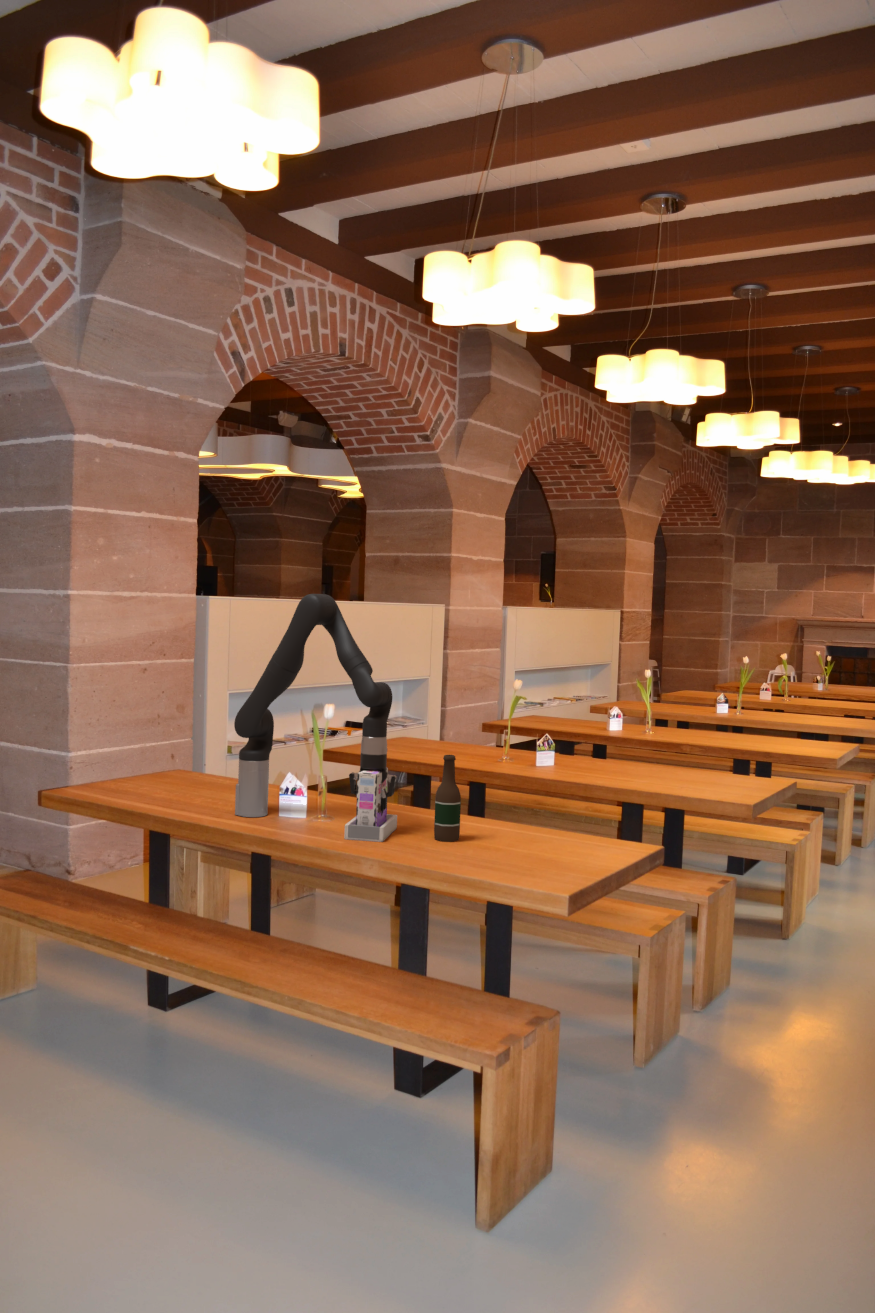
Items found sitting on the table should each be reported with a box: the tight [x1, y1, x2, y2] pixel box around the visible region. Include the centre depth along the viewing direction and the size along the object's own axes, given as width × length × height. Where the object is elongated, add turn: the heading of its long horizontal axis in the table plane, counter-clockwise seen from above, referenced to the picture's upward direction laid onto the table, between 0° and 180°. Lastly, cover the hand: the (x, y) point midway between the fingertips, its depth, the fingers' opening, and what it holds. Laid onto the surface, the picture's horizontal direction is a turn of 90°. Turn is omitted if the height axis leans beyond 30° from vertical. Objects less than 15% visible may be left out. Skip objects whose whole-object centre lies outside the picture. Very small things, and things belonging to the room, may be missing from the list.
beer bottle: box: [433, 754, 462, 843], centre depth 282 cm, size 8×8×24 cm
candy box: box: [355, 766, 389, 827], centre depth 285 cm, size 14×6×16 cm, turn 169°
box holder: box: [343, 813, 398, 843], centre depth 286 cm, size 11×19×4 cm, turn 171°
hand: (371, 809), depth 286 cm, fingers closed on candy box, 6 cm apart
